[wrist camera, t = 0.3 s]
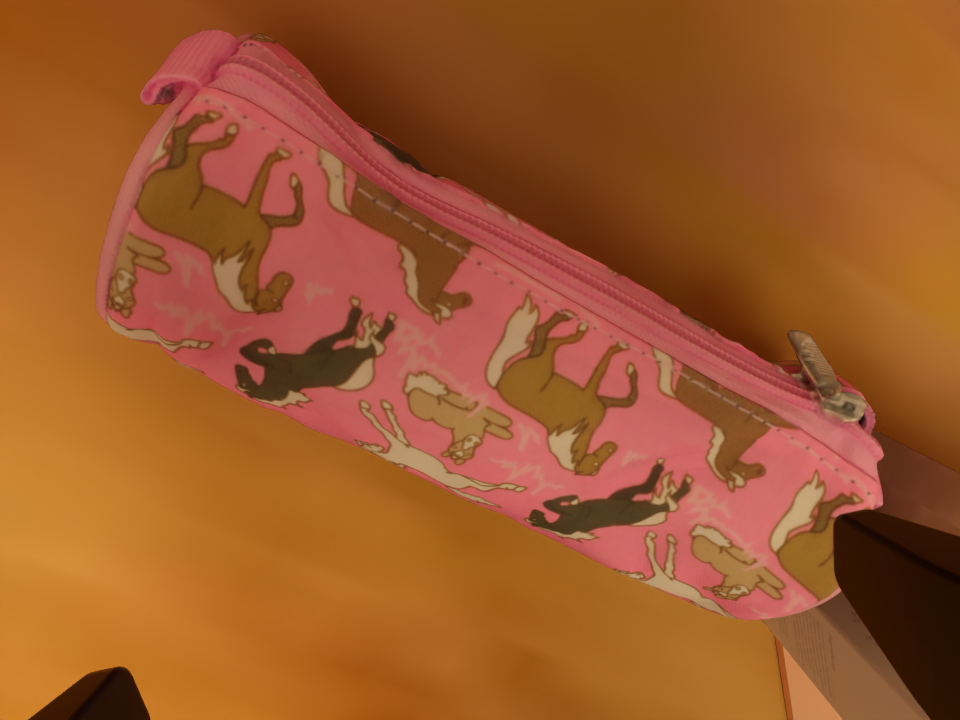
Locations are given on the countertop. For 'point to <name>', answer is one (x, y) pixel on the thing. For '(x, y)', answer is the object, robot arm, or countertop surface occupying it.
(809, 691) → the tile
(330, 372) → the pencil case
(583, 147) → the countertop surface
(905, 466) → the shallow wooden tray
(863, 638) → the skincare box
